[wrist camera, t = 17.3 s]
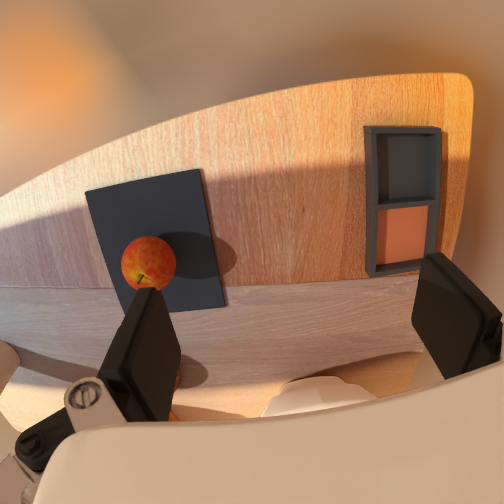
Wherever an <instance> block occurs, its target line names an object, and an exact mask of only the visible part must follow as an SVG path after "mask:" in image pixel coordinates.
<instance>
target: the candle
mask: <svg viewBox="0 0 504 504" xmlns="http://www.w3.org/2000/svg"><path fill="white" fill-rule="evenodd" d="M19 364H20V358H19V356H18V354H17V352H16V351H15V350H14V349H13V348H12V347H11V346H10V345H9V344H7V343H6V342H3V341H0V395H1V393H2V392H3V390H4V388H5V386H6V384H7V383H8V381H9V379H10V378H11V376H12V375H13V373H14V372H15V370H16V369H17V367H18V366H19Z"/></svg>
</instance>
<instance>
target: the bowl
mask: <svg viewBox="0 0 504 504" xmlns="http://www.w3.org/2000/svg"><path fill="white" fill-rule="evenodd" d="M373 399H378V398H377V397H375V396H374V395H372V394H371V393H369V392H368V391H366V390H365V389H363V388H362V387H360V386H359V385H356V384H347V383H345V382H344V381H343V380H342V379H340V378H339V377H336V376H320V377H310V378H305V379H301V380H297V381H293V382H289V383H286V384H284V385H283V386H282V388H281V390H280V392H279V394H278V396H275V397H273V398H271V399H270V401H269V403H268V405H267V407H266V408H265V410H264V412H263V414H262V416H261V417H269V416H278V415H287V414H294V413H302V412H309V411H315V410H322V409H328V408H333V407H339V406H344V405H350V404H355V403H359V402H364V401H369V400H373Z"/></svg>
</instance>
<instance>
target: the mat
mask: <svg viewBox="0 0 504 504" xmlns="http://www.w3.org/2000/svg"><path fill="white" fill-rule="evenodd" d="M85 195H86V199H87V203H88V207H89V210H90V214H91V217H92V221H93V224H94V228H95V231H96V234H97V238H98V241H99V244H100V247H101V250H102V253H103V256H104V259H105V262H106V265H107V268H108V271H109V274H110V277H111V280H112V282H113V285H114V288H115V291H116V293H117V296H118V299H119V301H120V304H121V306H122V309H123V311H124V314H125V315H126V313H127V311H128V309H129V307H130V305H131V303H132V301H133V298H134V296H135V294H136V292H137V290H136V289H134V288H133V287H131V286H130V285H129V284H128V282H127V281H126V279H125V278H124V275H123V273H122V267H121V262H122V256H123V253H124V251H125V249H126V248H127V247H128V245H129V244H130V243H131V242H132V241H134V240H135V239H137V238H140V237H143V236H155V237H158V238H160V239H162V240H164V241H165V242H166V243H168V245H169V246H170V247H171V248H172V250H173V252H174V254H175V258H176V269H175V273H174V276H173V278H172V279H171V281H170V282H169V283H168V284H167V285H166V286H165V287H164V288H163V289H160V290H161V292H162V294H163V297H164V300H165V303H166V306H167V310H168V313H171V312H182V311H193V310H203V309H212V308H222V307H225V301H224V296H223V291H222V286H221V281H220V277H219V272H218V267H217V262H216V257H215V251H214V246H213V241H212V236H211V231H210V225H209V220H208V215H207V209H206V204H205V198H204V193H203V187H202V181H201V176H200V170H199V169H194V170H188V171H182V172H176V173H171V174H166V175H160V176H155V177H150V178H145V179H140V180H135V181H131V182H126V183H121V184H117V185H112V186H108V187H104V188H99V189H95V190H91V191H87V192H85Z"/></svg>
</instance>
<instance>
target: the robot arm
mask: <svg viewBox="0 0 504 504" xmlns="http://www.w3.org/2000/svg"><path fill="white" fill-rule="evenodd" d="M501 317H502V313H501V312H500V311H499V310H498V309H497V308H496V306H495V305H494V304H493V303H492V302H491V301H490V300H489V299H488V298H487V297H486V296H485V295H484V294H483V293H482V291H481V290H480V289H478V287H477V286H476V285H475V284H474V283H473V282H472V281H471V280H470V279H469V278H468V277H467V276H466V275H465V274H464V273H463V272H462V271H461V270H460V269H458V267H457V266H456V265H454V264H453V263H452V262H451V261H450V260H449V259H448V258H447V257H446V256H445V255H444V254H443V253H441V252H437V253H430V254H427V255H426V256H425V258H424V259H423V260H422V262H421V268H420V274H419V280H418V286H417V292H416V297H415V302H414V307H413V312H412V317H411V321H412V325H413V327H414V329H415V330H416V332H417V333H418V335H419V337H420V338H421V340H422V341H423V343H424V345H425V346H426V348H427V350H428V351H429V353H430V355H431V356H432V358H433V360H434V362H435V363H436V365H437V367H438V369H439V370H440V372H441V374H442V376H443V377H444V379H445V380H444V381H440V382H438V383H434V384H431V385H427V386H424V387H420V388H417V389H413V390H410V391H406V392H402V393H398V394H394V395H390V396H386V397H382V398H378V399H373V400H369V401H364V402H359V403H355V404H350V405H344V406H339V407H333V408H328V409H322V410H315V411H309V412H302V413H294V414H287V415H278V416H269V417H259V418H247V419H232V420H212V421H179V422H168V420H169V415H170V409H171V404H172V398H173V393H174V388H175V383H176V378H177V373H178V368H179V363H180V358H181V349H180V345H179V343H178V340H177V337H176V334H175V331H174V328H173V325H172V322H171V319H170V316H169V313H168V310H167V306H166V303H165V300H164V297H163V294H162V292H161V290H157V289H156V287H144V288H139V289H138V290H137V292H136V294H135V296H134V298H133V301H132V303H131V305H130V307H129V309H128V311H127V313H126V315H125V317H124V319H123V322H122V324H121V326H120V327H119V328H118V330H117V332H116V334H115V336H114V339H113V341H112V343H111V345H110V347H109V350H108V352H107V354H106V356H105V359H104V361H103V363H102V366H101V368H100V370H99V373H98V375H97V377H96V378H95V377H85V378H82V379H79V380H77V381H76V382H74V383H73V384H72V385H71V386H70V387H69V388H68V389H67V391H66V393H65V395H64V405H65V407H64V408H63V409H61V410H59V411H57V412H56V413H54V414H52V415H51V416H49V417H47V418H46V419H44V420H42V421H40V422H39V423H37V424H35V425H33V426H32V427H30V428H28V429H26V430H25V431H24V432H22V433H21V435H20V436H19V437H18V439H17V441H16V445H15V452H16V454H15V455H14V456H12V455H11V454H9V455H8V456H7V457H6V458H5V459H4V460H3V461H2V462H1V463H0V504H504V323H502V322H501V321H500V320H501Z"/></svg>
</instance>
